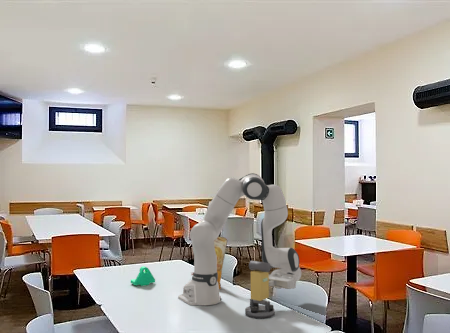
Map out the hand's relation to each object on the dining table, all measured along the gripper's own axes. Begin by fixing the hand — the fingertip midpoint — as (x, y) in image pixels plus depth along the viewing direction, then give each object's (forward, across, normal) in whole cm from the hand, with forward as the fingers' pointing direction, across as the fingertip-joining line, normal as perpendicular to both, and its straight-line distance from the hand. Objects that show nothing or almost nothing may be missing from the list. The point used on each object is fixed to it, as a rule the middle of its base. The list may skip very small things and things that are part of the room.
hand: (264, 284), depth 192 cm
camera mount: (-2, -82, +13) cm, 83 cm away
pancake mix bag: (-22, -47, +12) cm, 53 cm away
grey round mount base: (+3, 0, +12) cm, 13 cm away
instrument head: (+3, 0, +7) cm, 8 cm away
